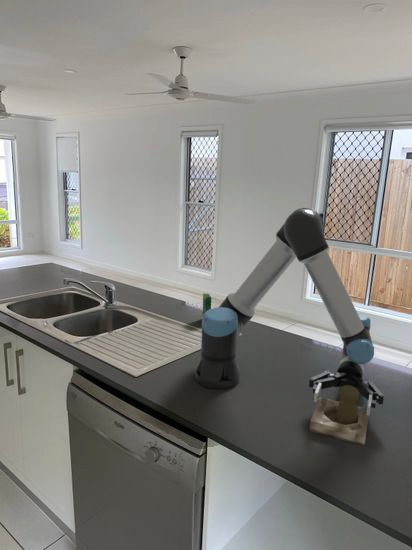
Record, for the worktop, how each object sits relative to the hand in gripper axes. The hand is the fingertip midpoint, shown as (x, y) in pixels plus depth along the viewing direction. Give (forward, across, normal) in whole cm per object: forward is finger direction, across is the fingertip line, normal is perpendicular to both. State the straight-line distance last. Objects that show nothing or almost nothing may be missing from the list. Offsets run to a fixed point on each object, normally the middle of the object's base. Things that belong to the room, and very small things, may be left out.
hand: (341, 404), depth 107 cm
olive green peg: (-3, -2, -8) cm, 9 cm away
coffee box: (-61, +69, -8) cm, 93 cm away
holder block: (-3, 0, -8) cm, 9 cm away
